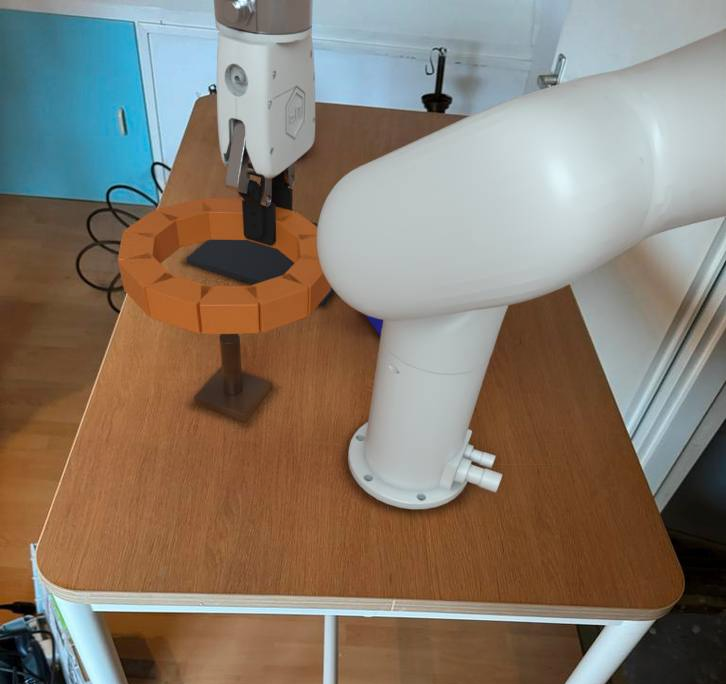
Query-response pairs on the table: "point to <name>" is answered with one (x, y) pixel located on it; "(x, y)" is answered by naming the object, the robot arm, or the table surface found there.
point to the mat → (244, 261)
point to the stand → (232, 385)
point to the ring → (219, 303)
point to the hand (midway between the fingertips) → (268, 231)
